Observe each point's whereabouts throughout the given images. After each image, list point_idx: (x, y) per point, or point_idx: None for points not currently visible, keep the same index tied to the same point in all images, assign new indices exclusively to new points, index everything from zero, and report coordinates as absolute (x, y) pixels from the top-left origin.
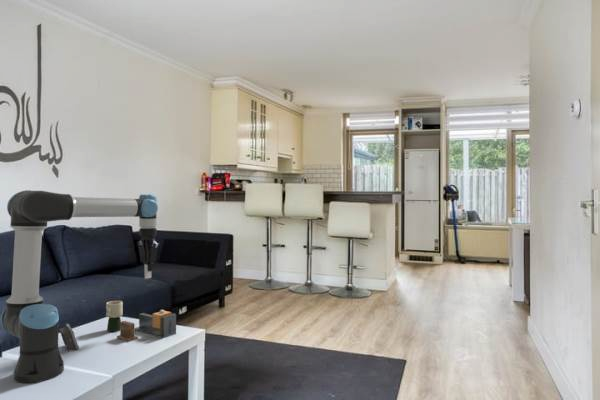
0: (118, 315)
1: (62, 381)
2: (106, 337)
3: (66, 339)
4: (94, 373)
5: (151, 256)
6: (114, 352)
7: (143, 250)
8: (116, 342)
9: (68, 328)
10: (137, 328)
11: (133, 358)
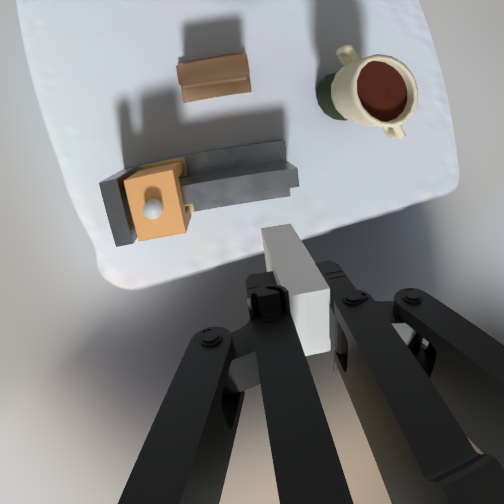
0: (332, 91)
1: None
2: (283, 39)
3: None
4: None
5: (173, 417)
6: (124, 4)
7: (460, 444)
8: (205, 36)
9: None
10: (271, 145)
11: (46, 35)
